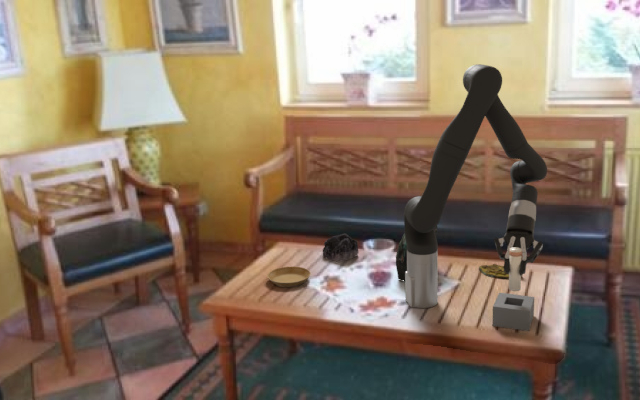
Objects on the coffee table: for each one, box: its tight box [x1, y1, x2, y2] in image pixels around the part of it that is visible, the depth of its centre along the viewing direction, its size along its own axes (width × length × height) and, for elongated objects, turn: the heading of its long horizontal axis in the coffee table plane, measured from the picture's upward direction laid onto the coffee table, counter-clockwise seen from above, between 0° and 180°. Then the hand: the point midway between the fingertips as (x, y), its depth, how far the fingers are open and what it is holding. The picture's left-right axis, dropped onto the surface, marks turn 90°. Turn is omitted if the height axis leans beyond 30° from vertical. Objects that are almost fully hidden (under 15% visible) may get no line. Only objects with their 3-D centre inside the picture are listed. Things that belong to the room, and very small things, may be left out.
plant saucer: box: [267, 266, 311, 288], centre depth 227 cm, size 15×15×3 cm
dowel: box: [508, 247, 522, 292], centre depth 186 cm, size 3×3×12 cm
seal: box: [478, 263, 509, 280], centre depth 225 cm, size 9×5×15 cm
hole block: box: [491, 292, 535, 332], centre depth 190 cm, size 10×10×6 cm
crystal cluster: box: [322, 232, 359, 262], centre depth 247 cm, size 13×14×10 cm
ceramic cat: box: [395, 225, 439, 281], centre depth 226 cm, size 20×6×20 cm, turn 136°
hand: (514, 273), depth 185 cm, fingers closed on dowel, 3 cm apart
